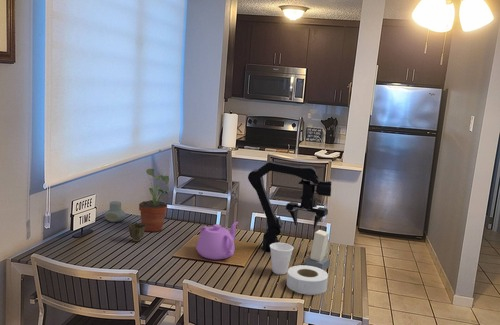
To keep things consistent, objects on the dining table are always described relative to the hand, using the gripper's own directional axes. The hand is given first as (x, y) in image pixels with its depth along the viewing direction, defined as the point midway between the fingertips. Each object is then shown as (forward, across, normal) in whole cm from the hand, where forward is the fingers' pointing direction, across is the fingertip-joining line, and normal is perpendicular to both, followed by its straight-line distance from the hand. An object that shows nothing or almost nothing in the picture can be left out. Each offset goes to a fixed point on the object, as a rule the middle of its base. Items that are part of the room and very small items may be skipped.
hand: (305, 227), depth 205 cm
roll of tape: (+13, -14, +32) cm, 37 cm away
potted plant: (+13, +76, +16) cm, 78 cm away
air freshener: (+13, +100, +18) cm, 103 cm away
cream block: (+9, -11, +11) cm, 18 cm away
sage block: (+13, -7, -5) cm, 16 cm away
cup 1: (+13, +70, +35) cm, 79 cm away
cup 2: (+13, 0, +26) cm, 29 cm away
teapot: (+13, +31, +24) cm, 41 cm away
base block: (+13, -11, +11) cm, 20 cm away
